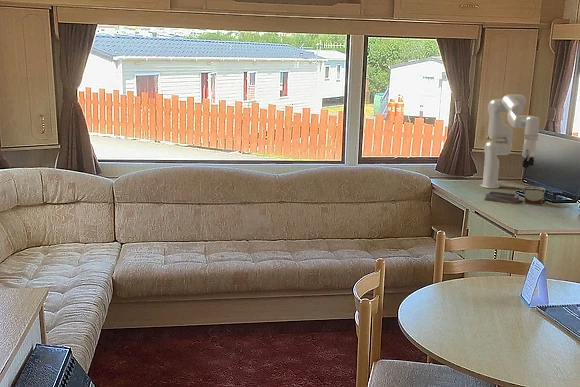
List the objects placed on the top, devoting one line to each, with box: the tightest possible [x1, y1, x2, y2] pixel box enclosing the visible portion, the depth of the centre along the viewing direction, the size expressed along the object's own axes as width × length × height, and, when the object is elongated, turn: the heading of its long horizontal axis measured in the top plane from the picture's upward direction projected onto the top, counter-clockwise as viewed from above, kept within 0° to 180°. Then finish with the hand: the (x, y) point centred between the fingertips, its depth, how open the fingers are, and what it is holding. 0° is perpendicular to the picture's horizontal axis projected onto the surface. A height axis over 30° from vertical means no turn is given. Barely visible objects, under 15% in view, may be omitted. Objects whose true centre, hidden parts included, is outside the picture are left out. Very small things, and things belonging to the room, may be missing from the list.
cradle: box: [484, 190, 520, 205], centre depth 345 cm, size 13×18×4 cm
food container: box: [523, 185, 547, 206], centre depth 337 cm, size 12×6×10 cm, turn 71°
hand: (527, 166), depth 334 cm, fingers open, 9 cm apart
